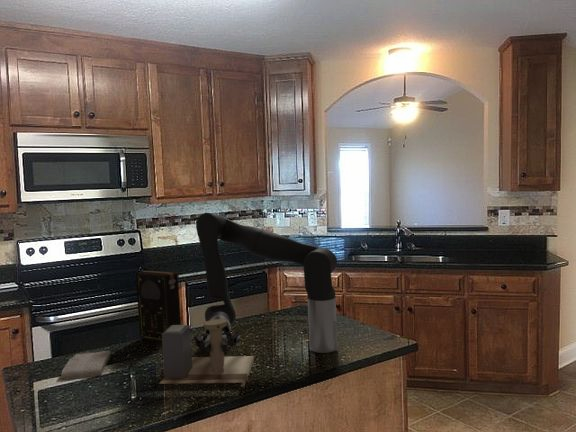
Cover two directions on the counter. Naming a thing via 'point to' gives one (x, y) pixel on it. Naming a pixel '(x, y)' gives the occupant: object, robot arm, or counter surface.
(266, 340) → the counter surface
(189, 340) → the grey tall block
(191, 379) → the subfloor panel
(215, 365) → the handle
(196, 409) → the counter surface
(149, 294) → the voltmeter
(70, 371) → the washcloth
